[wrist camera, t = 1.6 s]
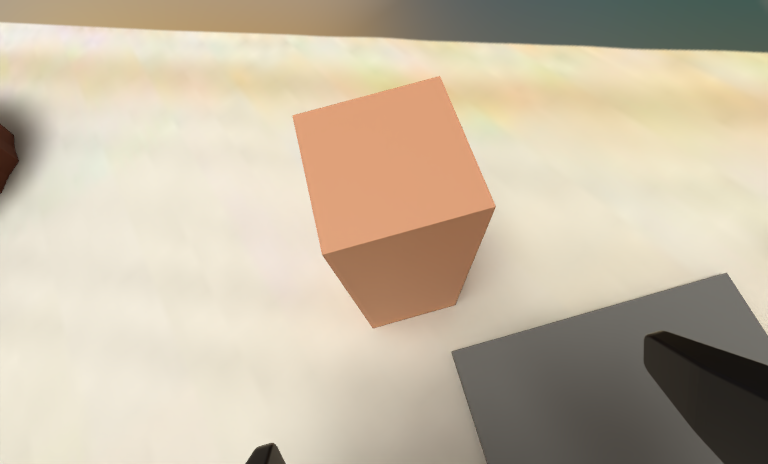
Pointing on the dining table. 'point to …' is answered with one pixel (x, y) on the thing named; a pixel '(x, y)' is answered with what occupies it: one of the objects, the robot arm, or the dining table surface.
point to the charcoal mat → (600, 380)
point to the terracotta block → (395, 198)
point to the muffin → (6, 156)
